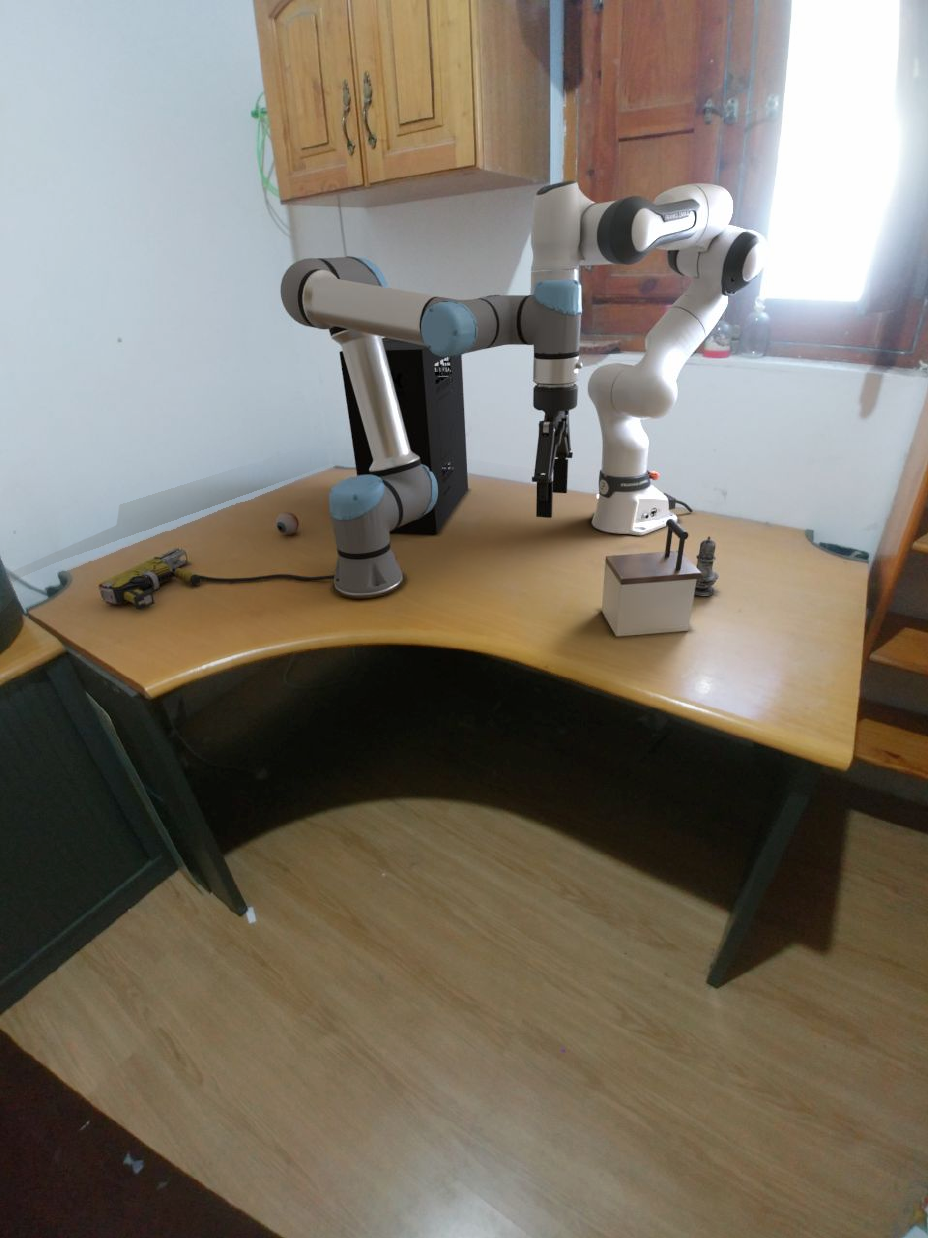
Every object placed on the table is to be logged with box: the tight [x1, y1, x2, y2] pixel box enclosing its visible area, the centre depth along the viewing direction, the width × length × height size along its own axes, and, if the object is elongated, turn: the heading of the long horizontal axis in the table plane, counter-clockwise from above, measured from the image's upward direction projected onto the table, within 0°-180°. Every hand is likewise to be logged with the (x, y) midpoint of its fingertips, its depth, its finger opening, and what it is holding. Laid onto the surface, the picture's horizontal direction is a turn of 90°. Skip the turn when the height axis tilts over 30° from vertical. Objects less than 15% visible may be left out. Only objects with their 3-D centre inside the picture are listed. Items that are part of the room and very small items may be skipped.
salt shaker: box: [694, 536, 719, 597], centre depth 122 cm, size 6×6×12 cm
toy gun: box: [98, 547, 202, 611], centre depth 139 cm, size 5×24×15 cm
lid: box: [604, 519, 701, 585], centre depth 109 cm, size 14×10×8 cm
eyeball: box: [275, 511, 300, 536], centre depth 163 cm, size 6×6×6 cm
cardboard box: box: [339, 337, 469, 535], centre depth 166 cm, size 38×20×45 cm, turn 167°
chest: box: [601, 562, 697, 637], centre depth 114 cm, size 14×10×11 cm
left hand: (552, 504), depth 113 cm, fingers open, 13 cm apart
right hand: (552, 367), depth 119 cm, fingers open, 8 cm apart
